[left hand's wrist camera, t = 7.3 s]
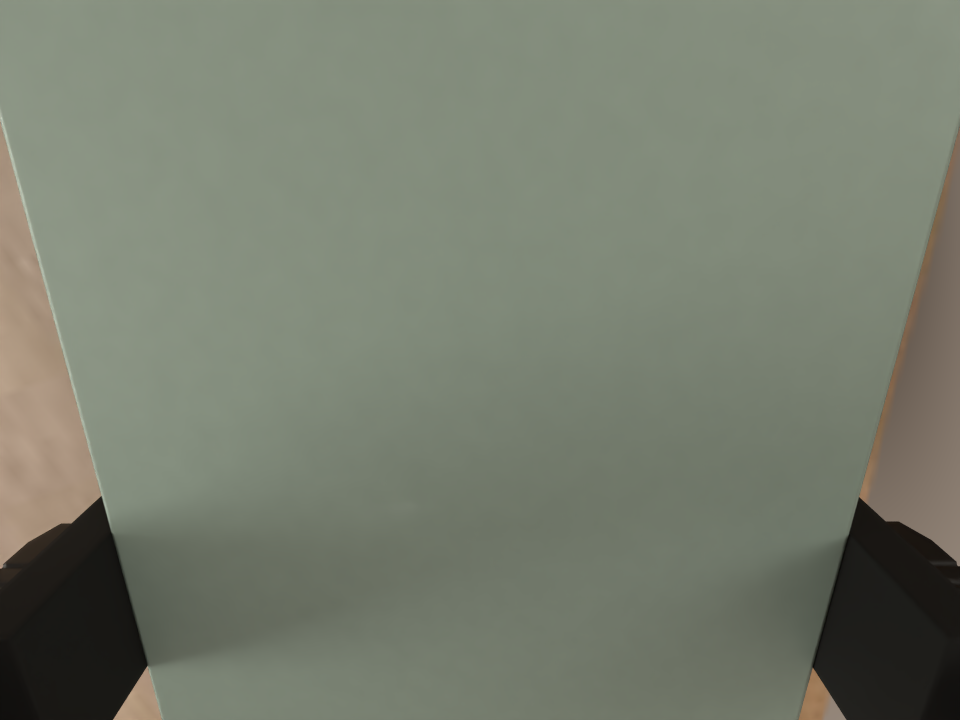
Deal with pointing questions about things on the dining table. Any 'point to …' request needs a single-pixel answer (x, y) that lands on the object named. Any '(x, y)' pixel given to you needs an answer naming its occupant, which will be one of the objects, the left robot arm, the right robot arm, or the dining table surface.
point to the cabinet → (480, 333)
